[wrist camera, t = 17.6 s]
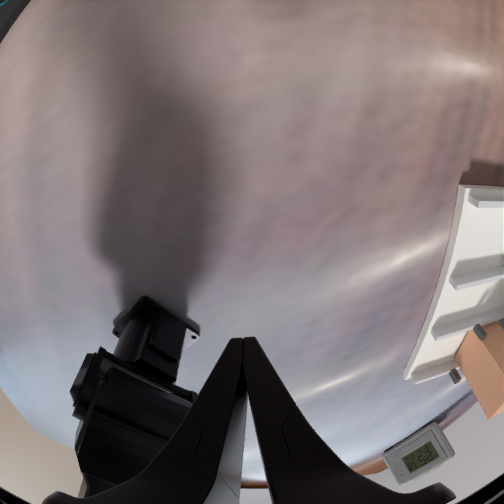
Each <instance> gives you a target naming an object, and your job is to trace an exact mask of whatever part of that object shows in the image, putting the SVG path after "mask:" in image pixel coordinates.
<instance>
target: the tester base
mask: <svg viewBox="0 0 504 504" xmlns="http://www.w3.org/2000/svg"><path fill="white" fill-rule="evenodd" d="M503 261H504V187H497V186H482V185H462V184H459V187H458V194H457V201H456V207H455V213H454V218H453V223H452V228H451V233H450V238H449V242H448V246H447V251H446V255H445V259H444V262H443V266H442V270H441V273H440V277H439V280H438V284H437V287H436V290H435V293H434V297H433V300H432V303H431V306H430V308H429V311H428V314H427V317H426V320H425V322H424V325H423V328H422V330H421V333H420V335H419V338H418V340H417V343H416V345H415V348H414V350H413V352H412V355H411V357H410V359H409V361H408V364H407V366H406V368H405V370H404V372H403V377H404V379H405V380H407V379H410V378H411V381H412V383H413V385H415V384H418V383H421V382H425V381H428V380H431V379H433V378H436V377H439V376H442V375H445V374H447V373H449V374H450V376H451V378H452V380H453V382H454V383H455V384H456V383H458V382H459V381H460V380H461V377H460V375H459V374H458V372H457V370H458V369H460V367H459V365H458V364H457V362H456V360H455V359H454V358H455V356H456V354H457V352H458V351H459V349H460V347H461V345H462V343H463V341H464V339H465V337H466V335H467V333H468V331H470V330H473V331H474V332H475V334H476V335H477V337H478V338H479V339H480V341H482V340H485V338H486V337H487V335H488V334H487V333H486V332H485V330H484V329H483V328H482V326H484V325H486V324H489V323H492V322H494V321H497V322H498V323H499V324H500V326H501V327H502V328H503V329H504V262H503Z"/></svg>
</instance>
